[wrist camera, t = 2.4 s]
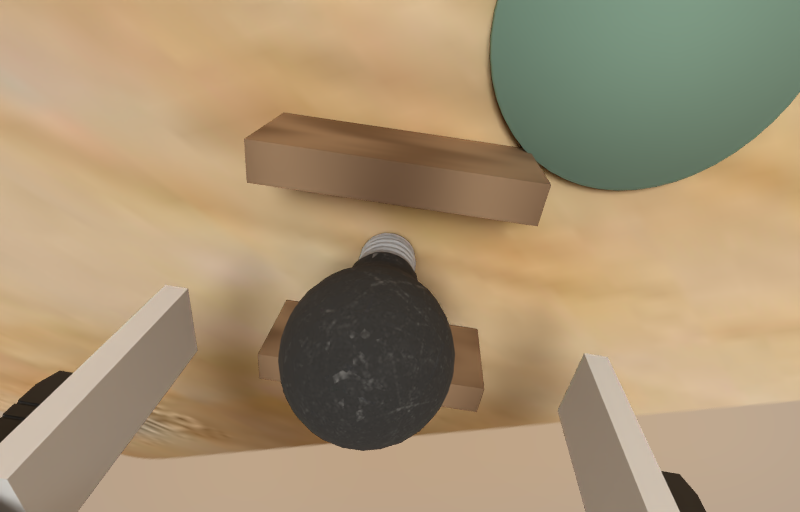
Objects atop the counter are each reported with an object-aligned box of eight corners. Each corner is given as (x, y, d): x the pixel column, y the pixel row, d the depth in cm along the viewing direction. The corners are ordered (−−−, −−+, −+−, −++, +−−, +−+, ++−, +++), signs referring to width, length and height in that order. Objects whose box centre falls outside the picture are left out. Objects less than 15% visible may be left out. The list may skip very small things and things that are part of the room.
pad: (462, 163, 18) (463, 168, 17) (540, -211, 12) (544, -221, 11) (726, 203, 17) (734, 209, 17) (929, -156, 12) (951, -163, 11)
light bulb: (312, 211, 19) (207, 374, 11) (430, 176, 18) (420, 330, 9) (357, 306, 22) (303, 501, 13) (464, 282, 21) (480, 480, 12)
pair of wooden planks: (286, 322, 23) (259, 378, 19) (283, 112, 17) (244, 138, 14) (471, 350, 23) (476, 412, 19) (528, 149, 17) (550, 185, 14)
